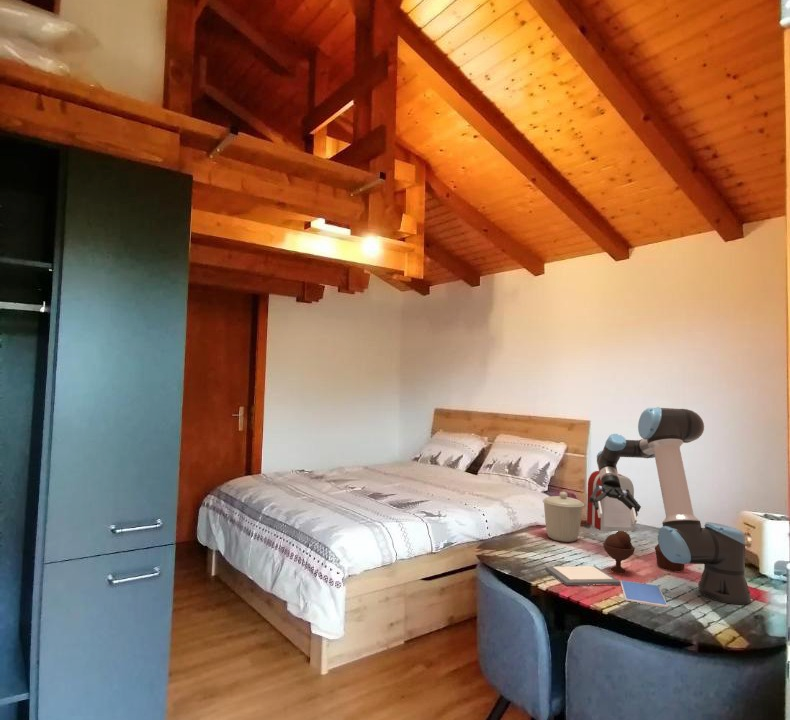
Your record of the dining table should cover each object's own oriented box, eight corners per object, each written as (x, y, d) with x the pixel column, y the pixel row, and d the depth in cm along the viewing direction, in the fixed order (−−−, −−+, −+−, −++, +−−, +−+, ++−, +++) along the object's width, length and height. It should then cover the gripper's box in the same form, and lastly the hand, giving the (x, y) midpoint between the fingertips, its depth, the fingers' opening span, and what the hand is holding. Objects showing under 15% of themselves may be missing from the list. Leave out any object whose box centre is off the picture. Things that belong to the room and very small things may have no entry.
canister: (587, 538, 246) (588, 491, 247) (577, 547, 231) (579, 497, 232) (547, 531, 256) (549, 486, 257) (536, 539, 240) (537, 491, 242)
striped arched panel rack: (616, 522, 279) (618, 470, 281) (634, 532, 262) (635, 476, 263) (585, 521, 278) (587, 469, 280) (600, 531, 261) (602, 474, 262)
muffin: (655, 560, 217) (656, 535, 218) (687, 566, 211) (687, 540, 212) (652, 568, 207) (653, 542, 207) (685, 575, 201) (686, 547, 202)
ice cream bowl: (627, 567, 207) (628, 527, 208) (638, 577, 196) (639, 535, 197) (599, 565, 208) (600, 525, 209) (607, 574, 197) (608, 533, 198)
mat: (620, 585, 187) (620, 581, 187) (566, 586, 184) (566, 582, 184) (595, 569, 203) (595, 566, 203) (545, 570, 199) (545, 566, 199)
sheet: (612, 580, 188) (612, 578, 188) (570, 580, 185) (570, 579, 186) (592, 567, 201) (592, 566, 201) (552, 568, 198) (552, 566, 198)
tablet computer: (619, 583, 191) (619, 579, 191) (659, 588, 187) (659, 584, 187) (625, 603, 172) (625, 598, 172) (668, 609, 168) (668, 605, 169)
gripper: (636, 491, 234) (646, 531, 216) (578, 480, 236) (583, 518, 219) (642, 479, 229) (653, 519, 212) (582, 468, 232) (588, 506, 215)
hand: (617, 519), depth 215 cm, fingers open, 13 cm apart
